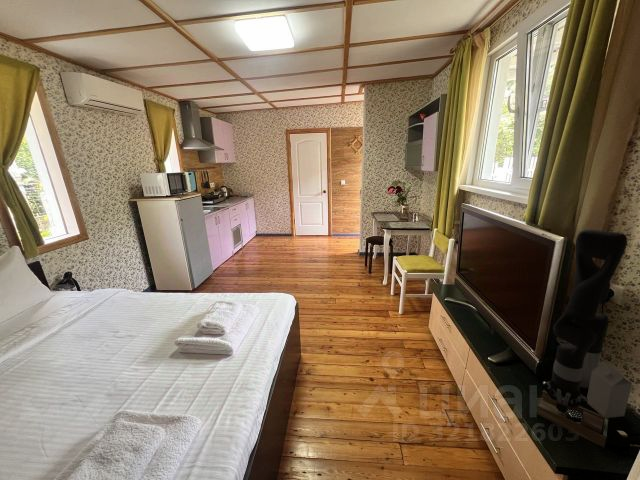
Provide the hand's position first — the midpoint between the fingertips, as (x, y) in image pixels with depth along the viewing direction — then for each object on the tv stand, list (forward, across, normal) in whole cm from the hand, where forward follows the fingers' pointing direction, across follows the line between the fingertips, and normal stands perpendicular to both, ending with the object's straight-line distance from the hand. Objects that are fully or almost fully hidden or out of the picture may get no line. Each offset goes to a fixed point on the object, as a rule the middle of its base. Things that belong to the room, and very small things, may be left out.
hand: (560, 410), depth 99 cm
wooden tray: (+2, -3, 0) cm, 4 cm away
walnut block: (+1, -8, +1) cm, 8 cm away
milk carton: (+3, -11, -14) cm, 18 cm away
